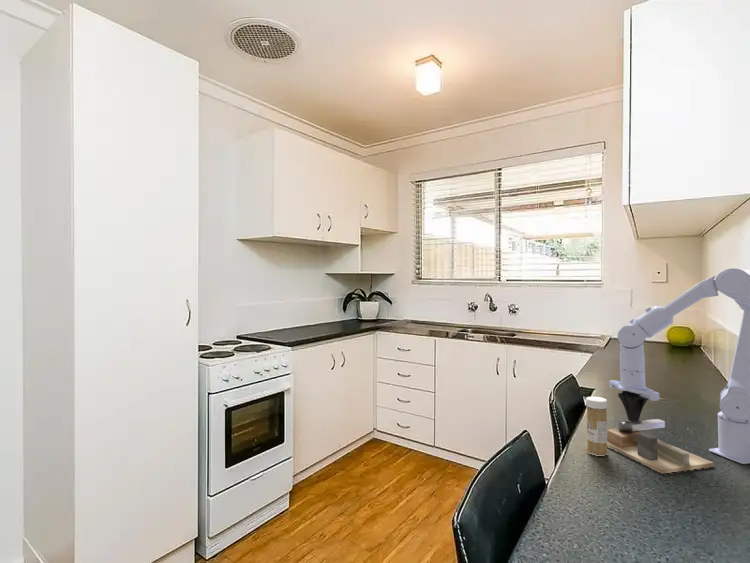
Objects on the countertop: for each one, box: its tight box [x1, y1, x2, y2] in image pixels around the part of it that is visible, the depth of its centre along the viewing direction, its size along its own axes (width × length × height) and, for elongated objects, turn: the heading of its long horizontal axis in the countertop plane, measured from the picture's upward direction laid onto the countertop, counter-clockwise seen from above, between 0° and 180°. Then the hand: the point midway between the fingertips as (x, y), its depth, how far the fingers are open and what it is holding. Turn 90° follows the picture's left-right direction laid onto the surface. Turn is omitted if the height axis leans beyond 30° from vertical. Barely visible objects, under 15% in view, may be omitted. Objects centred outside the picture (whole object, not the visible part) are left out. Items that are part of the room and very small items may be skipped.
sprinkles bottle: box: [585, 396, 609, 455], centre depth 103 cm, size 5×5×14 cm
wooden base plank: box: [607, 427, 715, 474], centre depth 102 cm, size 14×18×6 cm
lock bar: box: [618, 418, 666, 433], centre depth 108 cm, size 12×3×2 cm, turn 103°
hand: (633, 420), depth 113 cm, fingers closed
